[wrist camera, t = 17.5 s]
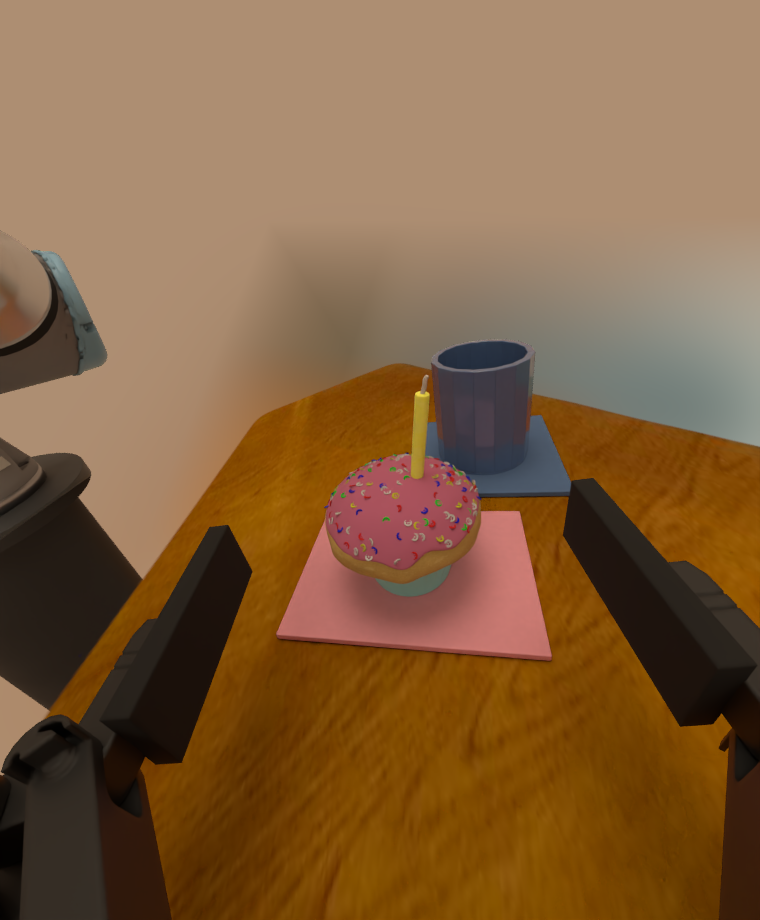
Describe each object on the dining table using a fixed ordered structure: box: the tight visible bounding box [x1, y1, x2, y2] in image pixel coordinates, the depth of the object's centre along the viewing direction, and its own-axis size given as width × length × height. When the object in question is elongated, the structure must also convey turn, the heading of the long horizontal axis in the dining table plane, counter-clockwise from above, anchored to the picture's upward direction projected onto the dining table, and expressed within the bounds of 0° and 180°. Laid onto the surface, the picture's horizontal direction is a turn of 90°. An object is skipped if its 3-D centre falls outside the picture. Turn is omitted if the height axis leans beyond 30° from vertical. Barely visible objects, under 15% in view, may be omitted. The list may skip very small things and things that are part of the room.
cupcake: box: [324, 375, 481, 597], centre depth 19 cm, size 9×8×12 cm
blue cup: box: [431, 339, 535, 475], centre depth 29 cm, size 7×7×9 cm
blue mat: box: [425, 415, 571, 497], centre depth 32 cm, size 12×12×1 cm
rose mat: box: [276, 511, 552, 661], centre depth 22 cm, size 14×10×1 cm
